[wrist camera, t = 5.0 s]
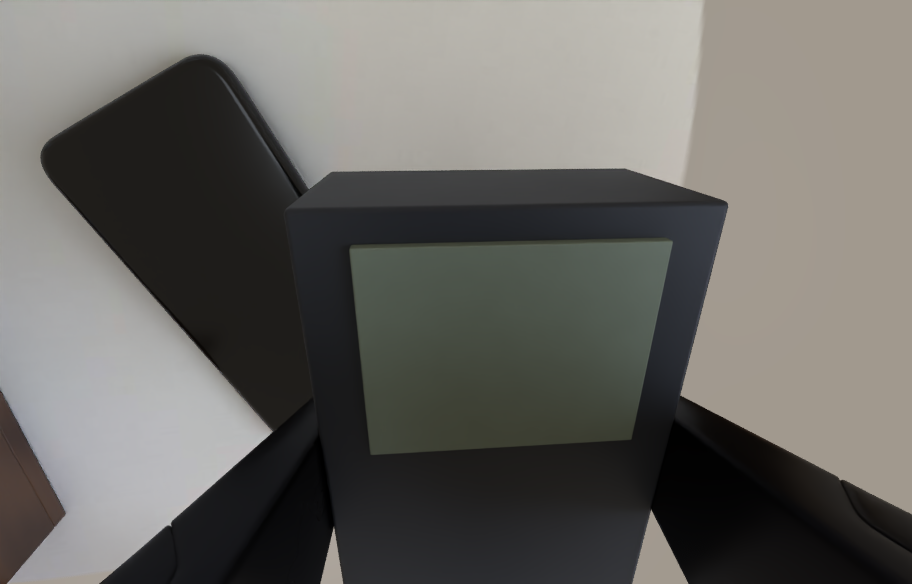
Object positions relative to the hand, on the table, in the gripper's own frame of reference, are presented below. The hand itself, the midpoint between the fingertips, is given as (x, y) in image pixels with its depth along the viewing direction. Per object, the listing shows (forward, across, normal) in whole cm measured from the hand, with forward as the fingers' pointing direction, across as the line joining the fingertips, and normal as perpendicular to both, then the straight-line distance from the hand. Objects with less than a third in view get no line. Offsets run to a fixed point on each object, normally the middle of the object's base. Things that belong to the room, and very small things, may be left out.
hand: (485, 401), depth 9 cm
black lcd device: (+1, 0, 0) cm, 1 cm away
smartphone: (+11, +8, +2) cm, 13 cm away
